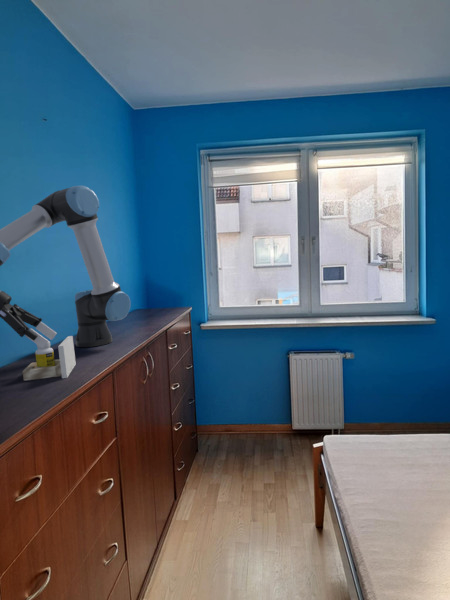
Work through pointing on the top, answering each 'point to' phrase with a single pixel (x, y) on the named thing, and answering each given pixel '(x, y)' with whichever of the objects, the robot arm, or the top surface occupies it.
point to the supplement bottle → (45, 356)
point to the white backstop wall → (67, 356)
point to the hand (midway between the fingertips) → (50, 340)
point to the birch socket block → (42, 371)
